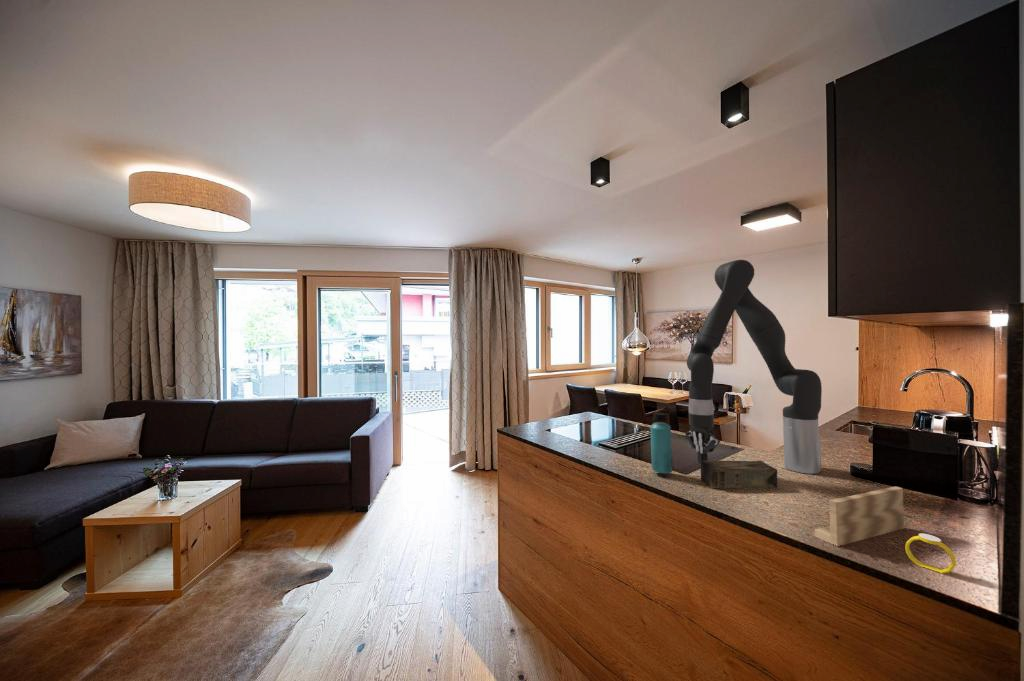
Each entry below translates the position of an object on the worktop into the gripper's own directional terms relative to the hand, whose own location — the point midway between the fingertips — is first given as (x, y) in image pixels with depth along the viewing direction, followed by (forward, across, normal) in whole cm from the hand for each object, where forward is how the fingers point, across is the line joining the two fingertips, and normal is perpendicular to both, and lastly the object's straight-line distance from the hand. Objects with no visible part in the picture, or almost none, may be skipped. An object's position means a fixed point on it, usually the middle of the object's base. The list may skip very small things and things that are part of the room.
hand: (702, 463), depth 121 cm
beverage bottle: (+2, +1, +16) cm, 16 cm away
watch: (+2, -56, +3) cm, 56 cm away
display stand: (+2, -43, 0) cm, 43 cm away
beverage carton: (+2, -14, 0) cm, 14 cm away
